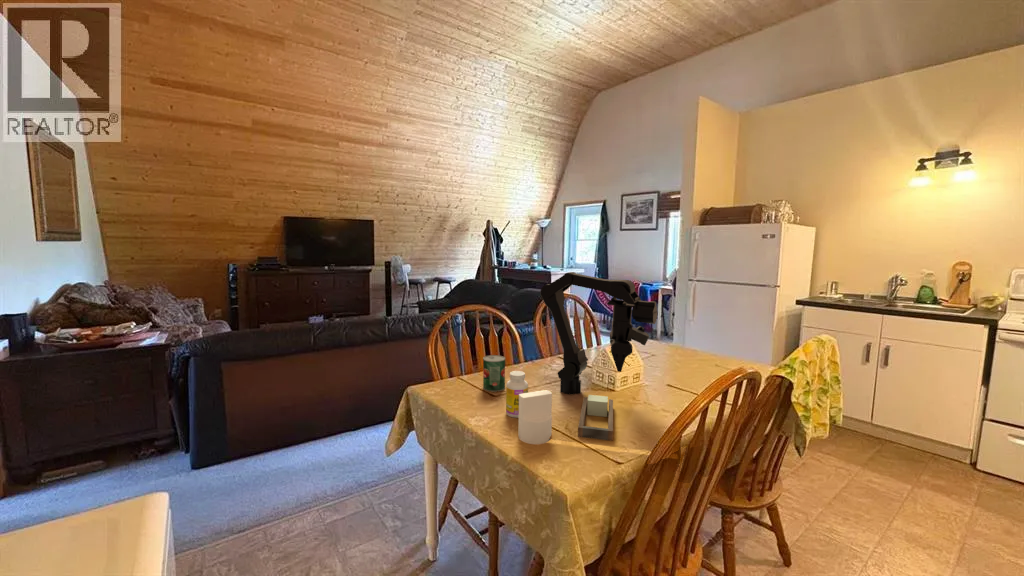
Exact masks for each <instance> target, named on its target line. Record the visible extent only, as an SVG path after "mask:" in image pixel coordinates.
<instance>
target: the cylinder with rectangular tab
mask: <svg viewBox="0 0 1024 576" xmlns="http://www.w3.org/2000/svg"><path fill="white" fill-rule="evenodd" d="M552 403H553V393H552V391H550V390H549V389H545V390H543V389H541V390H536V391H530V392H529V391H528V393H522V394H519V418H518V422H517V423H518V427H517V428H518V433H517V434H518V440H520V441H521V442H523V443H526V444H529V445H543V444H546V443H549V442H550V441H551V440H552V438H551V437H552V430H553V429H552V427H553V425H552V424H553V415H552V414H553V412H552V407H553V404H552Z"/></svg>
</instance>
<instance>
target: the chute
mask: <svg viewBox="0 0 1024 576" xmlns="http://www.w3.org/2000/svg"><path fill="white" fill-rule="evenodd" d="M581 404H582V405H581V410H580V415H579V420H578V421H579V422H578V425H577V437H578V438H584V439H585V438H586V439H595V440H600V441H601V440H603V441H609V442H611V441H613V438H614V437H613V435H614V434H613V433H614V400H613V399H608V415H607V417H608V418H607V419H608V422H607V424H608V425H607V426H608V427H607V428H605V427H595V426H586V425H585V423H586V418H587V417H586V416H587V408H588V396H584V397H583V400H582V403H581Z"/></svg>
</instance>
